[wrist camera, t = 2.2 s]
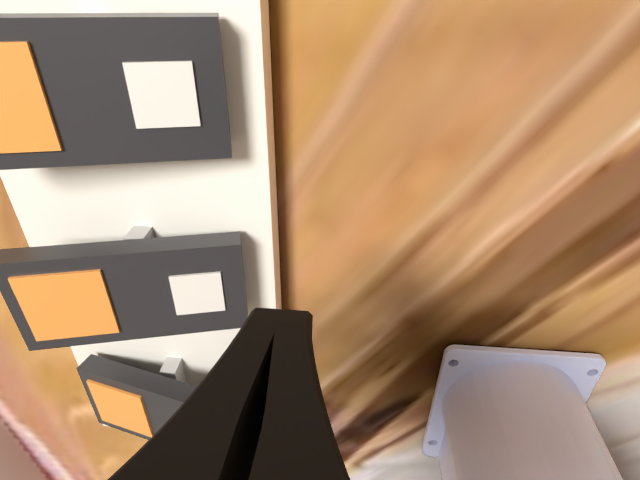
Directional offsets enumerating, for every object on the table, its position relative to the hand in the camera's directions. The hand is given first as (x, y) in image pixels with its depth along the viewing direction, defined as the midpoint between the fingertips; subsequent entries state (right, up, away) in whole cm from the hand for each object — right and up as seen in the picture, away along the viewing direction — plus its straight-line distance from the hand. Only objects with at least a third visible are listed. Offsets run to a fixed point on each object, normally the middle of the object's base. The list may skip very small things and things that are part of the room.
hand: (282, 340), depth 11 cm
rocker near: (-7, +7, +3) cm, 10 cm away
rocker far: (-7, -6, +12) cm, 15 cm away
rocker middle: (-7, 0, +8) cm, 10 cm away
